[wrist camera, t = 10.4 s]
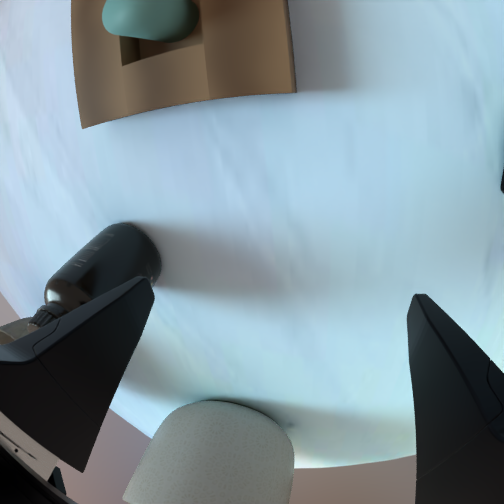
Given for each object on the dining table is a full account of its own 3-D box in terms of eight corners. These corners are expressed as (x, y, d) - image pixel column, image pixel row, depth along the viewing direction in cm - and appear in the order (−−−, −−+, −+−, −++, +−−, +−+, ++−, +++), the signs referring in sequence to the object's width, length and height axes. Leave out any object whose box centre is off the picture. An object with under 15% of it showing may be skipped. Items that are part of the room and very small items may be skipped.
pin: (197, -8, 12) (156, -32, 7) (201, 35, 13) (158, 22, 9) (150, 6, 12) (101, -7, 8) (153, 48, 14) (103, 44, 10)
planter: (328, 411, 32) (306, 548, 16) (278, 452, 43) (255, 540, 28) (171, 362, 33) (106, 493, 17) (170, 418, 45) (132, 502, 29)
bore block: (277, -64, 9) (268, -85, 6) (296, 93, 15) (291, 92, 13) (97, -9, 12) (71, -13, 10) (108, 121, 18) (82, 129, 16)
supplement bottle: (104, 267, 27) (30, 349, 17) (103, 210, 23) (4, 292, 13) (161, 295, 27) (95, 394, 17) (169, 237, 23) (78, 346, 13)
